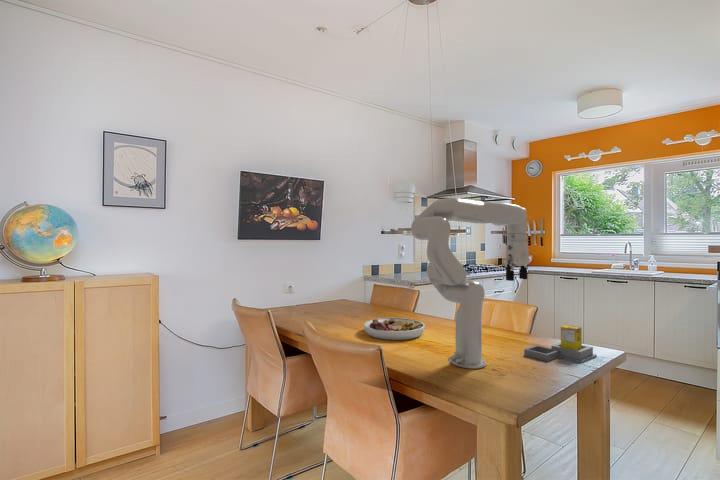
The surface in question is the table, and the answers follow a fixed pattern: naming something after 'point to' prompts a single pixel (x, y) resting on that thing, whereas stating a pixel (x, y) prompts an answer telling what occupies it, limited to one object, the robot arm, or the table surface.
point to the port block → (575, 353)
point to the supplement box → (571, 337)
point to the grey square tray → (542, 353)
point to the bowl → (394, 328)
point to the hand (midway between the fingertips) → (516, 279)
